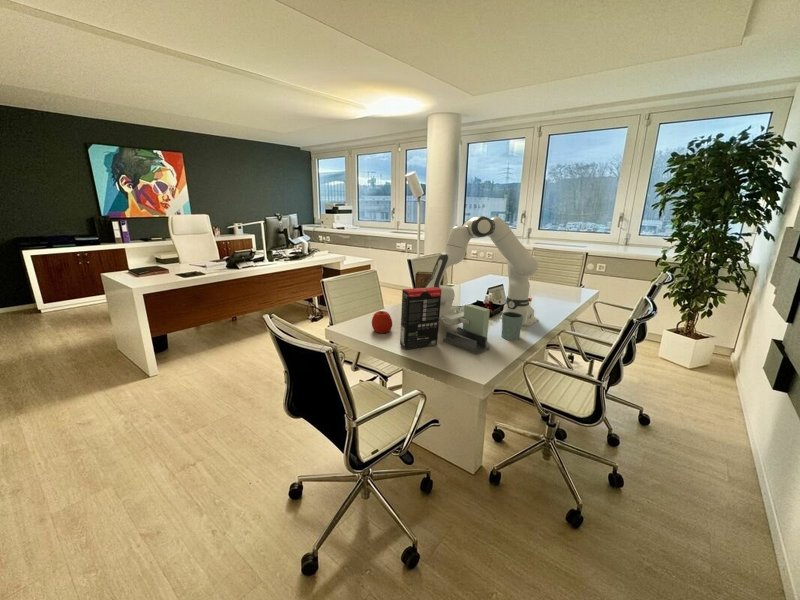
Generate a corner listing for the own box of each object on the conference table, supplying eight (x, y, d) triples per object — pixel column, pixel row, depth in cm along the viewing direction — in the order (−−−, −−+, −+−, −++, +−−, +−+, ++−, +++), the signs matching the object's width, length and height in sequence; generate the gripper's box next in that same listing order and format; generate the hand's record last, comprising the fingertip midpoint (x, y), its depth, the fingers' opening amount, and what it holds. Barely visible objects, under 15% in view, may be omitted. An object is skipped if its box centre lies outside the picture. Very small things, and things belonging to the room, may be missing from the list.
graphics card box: (431, 340, 165) (434, 285, 158) (439, 345, 159) (442, 288, 152) (399, 345, 158) (400, 288, 151) (405, 351, 152) (407, 291, 145)
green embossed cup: (505, 341, 166) (507, 317, 163) (496, 333, 176) (498, 311, 172) (524, 340, 167) (527, 317, 164) (514, 333, 177) (517, 311, 174)
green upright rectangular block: (467, 334, 174) (469, 303, 170) (486, 341, 166) (489, 309, 161) (462, 335, 172) (464, 305, 168) (481, 343, 163) (484, 311, 159)
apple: (368, 328, 179) (368, 309, 176) (388, 326, 183) (388, 307, 180) (374, 335, 169) (374, 315, 167) (395, 333, 173) (395, 313, 170)
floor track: (455, 336, 170) (456, 326, 169) (489, 349, 155) (490, 338, 154) (443, 341, 164) (443, 330, 163) (476, 354, 150) (477, 343, 148)
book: (441, 313, 208) (444, 272, 201) (441, 315, 203) (443, 274, 196) (415, 311, 210) (416, 271, 204) (413, 313, 205) (415, 273, 199)
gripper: (438, 312, 170) (459, 319, 160) (464, 305, 183) (485, 311, 173) (437, 323, 172) (458, 331, 162) (463, 316, 185) (484, 323, 175)
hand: (473, 321), depth 168 cm, fingers closed on green upright rectangular block, 4 cm apart
